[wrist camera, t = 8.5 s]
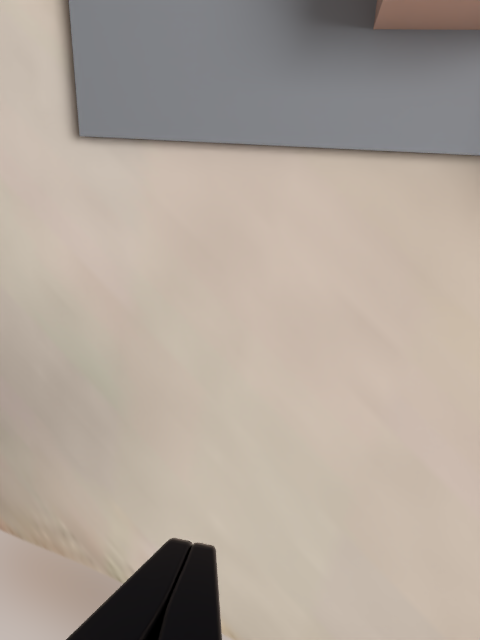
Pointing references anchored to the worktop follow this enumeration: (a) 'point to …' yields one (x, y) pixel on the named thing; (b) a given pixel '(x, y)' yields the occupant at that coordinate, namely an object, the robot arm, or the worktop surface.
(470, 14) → the salmon brown block
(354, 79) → the slate mat
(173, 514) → the worktop surface
